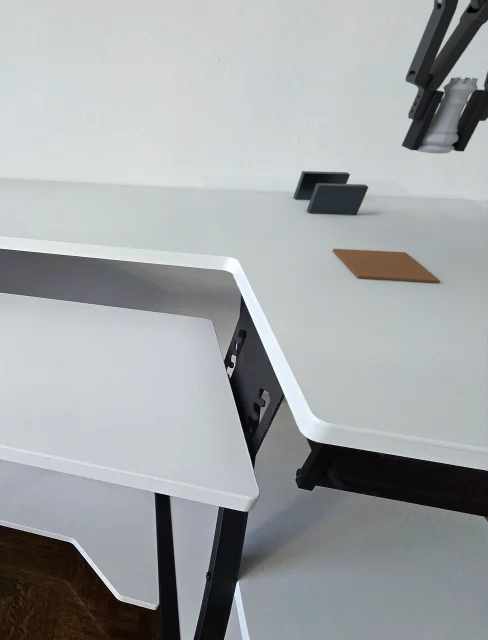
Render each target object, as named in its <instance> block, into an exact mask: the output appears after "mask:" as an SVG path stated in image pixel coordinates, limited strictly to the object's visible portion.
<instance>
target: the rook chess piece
mask: <svg viewBox="0 0 488 640" xmlns="http://www.w3.org/2000/svg"><path fill="white" fill-rule="evenodd" d="M478 81H479V78H477V77H472V78H471V77H464V78H462V77H459V76H458V77H457V76H456V77H451V78H450V80H449V81H448V83H446V84H445V85H444V86H443V92H445V93H444V95H443V97H442V100H441V102H440V104H439V106H438V108H437V110H436V112H435V115H434V117H433V119H432V121H431V123H430V125H429V127H428V130H427V132H426V134H425V136H424V138H423V140H422V142H421V145H420V147H419V149H418V150H415V151H416V152H420V153H425V154H448V153H450V152H452V151H454V150H453V149H455V148H454V146H453V145H452V144H453V143H455V142H457V141H458V135H457V133H456V132H457V131H458V130H457V126H458V122H459V119H460V117H461V115H462V113H463V111H464V109H465V107H466V104H467V103H468V100H469V98H470V96H471V94H472V93H473V92H474V91H475V90H479V88H478V85H477V82H478Z"/></svg>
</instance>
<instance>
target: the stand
mask: <svg viewBox="0 0 488 640" xmlns="http://www.w3.org/2000/svg"><path fill="white" fill-rule="evenodd" d="M350 176H351V173H349V172H348V171H318V170H317V171H313V170H302V171H301V173H300V176H299V179H298V182H297V186H296V188H295V192H294V193H293V198H294V200H306V201H309V203H308V205H307V207H306V212H307V213H308V214H321V215H346V216H348V215H349V216H350V215H351V216H357V215H358V213H359V211H360V209H361V206H362V203H363V201H364V199H365V196H366V194H367V192H368V189H369V186H368V185H367V184H360V183H348V181H349V178H350Z"/></svg>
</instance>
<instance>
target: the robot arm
mask: <svg viewBox="0 0 488 640" xmlns="http://www.w3.org/2000/svg"><path fill="white" fill-rule="evenodd" d="M458 4H459V0H433V9H432V11H431V14H430V16H429V19H428V21H427V23H426V25H425V29H424V31H423V32H422V36H421V38H420V41H419V43H418V45H417V48H416V51H415V53H414V56H413V58H412V61H411V63H410V66H409V69H408V70H407V73H406V75H405V82H406V83H408V84H412V85H414V86H416V87H417V89H418V90H417V92H416V95H415V98H414V99H413V102H412V105H411V106H410V109H409V111H408V116H407V119H410V120H412V121H411V123H410V126H409V127H408V130H407V133H406V134H405V137H404V139H403V141H402V143H401V147H403V148H405V149H407V150H410V151H416V150H418V149H419V147H420V145H421V142H422V140H423V138H424V136H425V134H426V132H427V130H428V127H429V125H430V123H431V121H432V119H433V117H434V115H435V113H436V111H437V110H438V107H439V105H440V102H441V100H442V99H443V97H444V95H445V91H444V90H439V89H440V87H441V86H442V85H443V83H444V81H446V79H447V77H448V76H449V74H450V73H451V72H452V70H453V68H454V67H455V65H456V64H457V63H458V62H459V60H460V58H461V57H462V55H463V54H464V53H465V51H466V49H467V48H468V46H469V45H470V43H472V40H473V39H474V38H475V37H476V35H477V34H478V32H479V30H480V29H481V28H482V26H483V25H484V24H486V23H487V22H488V0H470V2H469V3H468V5H467V6H466V8H465V9H464V10H463V12H462V14H461V15H460V17H459V22H458V24H457V25H456V26H455V28H454V30H453V31H452V33H451V34H450V36H449V38H448V39H447V40H446V42H445V43H444V45H443V42H444V39H445V37H446V34H447V32H448V30H449V27H450V25H451V23H452V20H453V18H454V15H455V14H456V13H455V12H456V10H457V8H458ZM442 45H443V46H442ZM441 46H442V48H441ZM440 48H441V50H440ZM486 120H488V71H487V72H486V75H485V80H484V84H483V89H477V90H475V91H474V92H473V93H471V94H470V95H469V97H468V103H467V104H466V105H465V106H464V108H463V110H462V113H461V116H460V119H459V122H458V126H457V130H458V131H457V132H456V133H457V135H458V141H457V142H455V143H453V144H452V145H453V146H454V148H455V149H453V150H452V151H455V152H465V150H466V148H467V146H468V144H469V142H470V140H471V139H472V136H473V134H474V133H475V131H476V129H477V127H478V125H479V123H480V122H485V121H486Z"/></svg>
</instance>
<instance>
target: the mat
mask: <svg viewBox="0 0 488 640" xmlns="http://www.w3.org/2000/svg"><path fill="white" fill-rule="evenodd" d="M332 252H333V253H334V254H335V256H337V258H338V259H339V260H340V261H341V262H342V263H343V264H344V265H345V266H346V268H348V270H349V271H351V273H352V274H353V275H354V276H355V277H356V278H357V279H363V280H365V279H366V280H380V281H381V280H383V281H397V282H415V283H428V284H429V283H430V284H431V283H432V284H439V283H440V282H441V280H440V279H439V278H438V277H437V276H435V275H434V274H433V273H432V272H430V271H429V270H428V269H427V268H426V267H424V266H423V265H422V264H421V263H420V262H419V261H417V260H416V259H415V258H414V257H412V256H411V255H410V254H409V253H407V252H406V251H388V250H387V251H386V250H369V249H351V248H333V249H332Z"/></svg>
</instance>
